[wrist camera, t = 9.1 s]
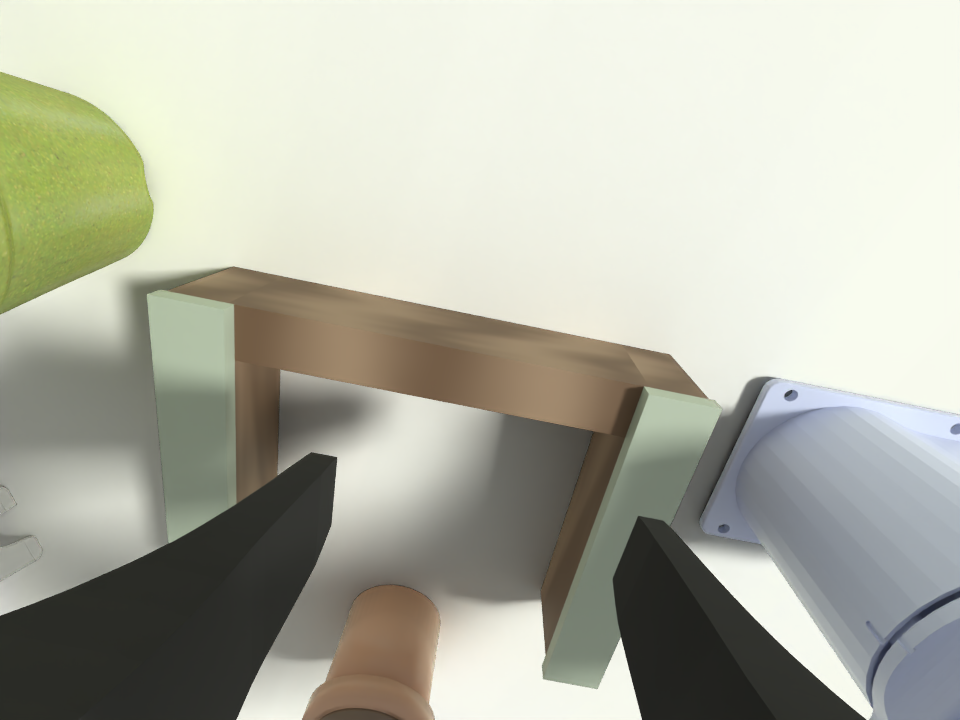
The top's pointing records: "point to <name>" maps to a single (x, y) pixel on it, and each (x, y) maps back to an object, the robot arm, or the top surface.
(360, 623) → the seedling pot
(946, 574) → the robot arm
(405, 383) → the green brown u-shaped frame
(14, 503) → the portable electronic device stand
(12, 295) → the plant pot
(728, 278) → the top surface
